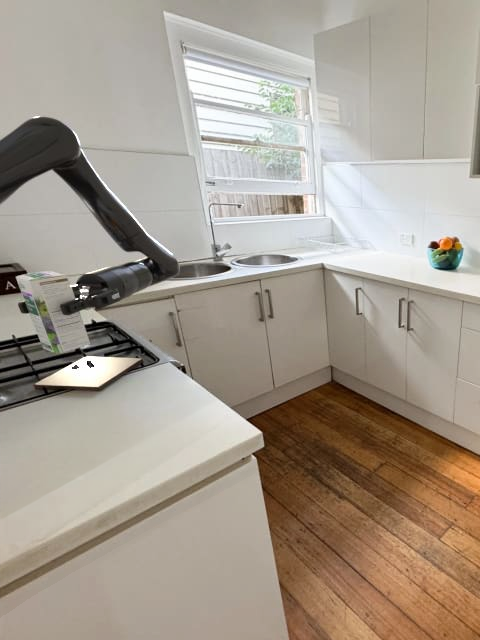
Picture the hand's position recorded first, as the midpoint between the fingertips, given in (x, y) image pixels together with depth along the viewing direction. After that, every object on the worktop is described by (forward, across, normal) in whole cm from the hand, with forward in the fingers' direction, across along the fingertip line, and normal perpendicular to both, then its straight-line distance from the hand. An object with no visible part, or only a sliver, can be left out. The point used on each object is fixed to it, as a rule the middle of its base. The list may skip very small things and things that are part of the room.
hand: (42, 309), depth 70 cm
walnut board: (-11, -5, +20) cm, 23 cm away
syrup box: (-2, 0, +9) cm, 9 cm away
